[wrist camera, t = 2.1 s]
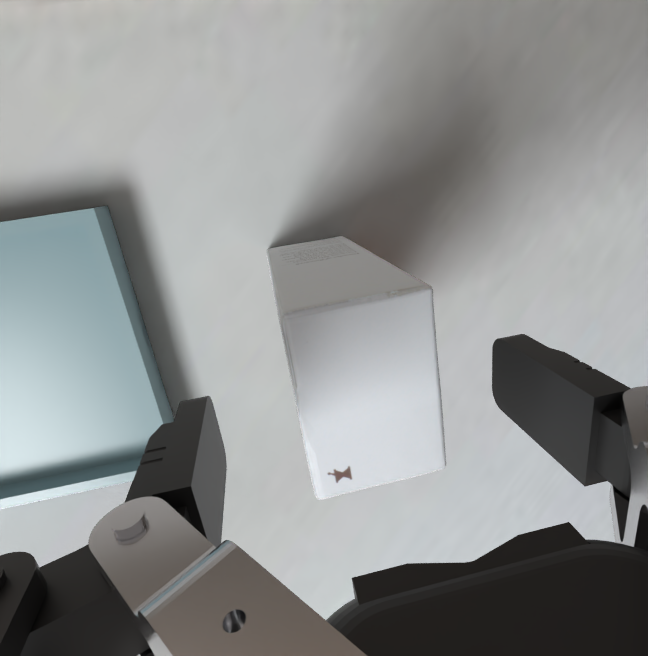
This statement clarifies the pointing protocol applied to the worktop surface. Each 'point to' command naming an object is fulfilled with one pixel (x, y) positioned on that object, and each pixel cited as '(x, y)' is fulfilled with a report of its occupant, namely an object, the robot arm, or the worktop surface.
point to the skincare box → (359, 364)
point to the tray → (71, 360)
